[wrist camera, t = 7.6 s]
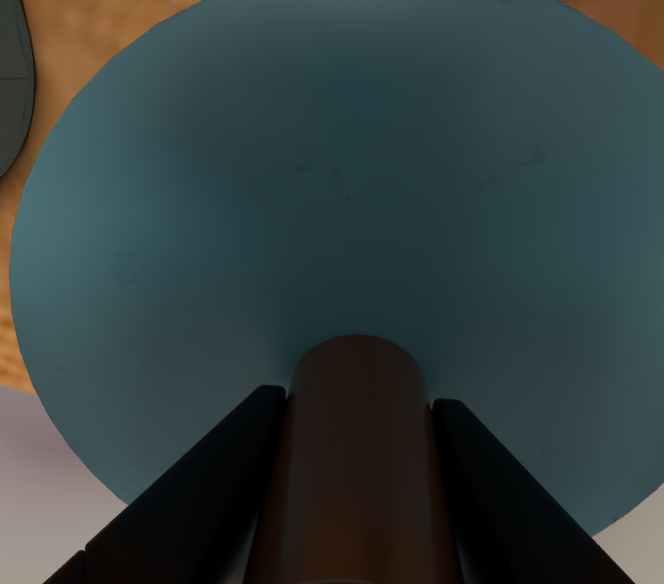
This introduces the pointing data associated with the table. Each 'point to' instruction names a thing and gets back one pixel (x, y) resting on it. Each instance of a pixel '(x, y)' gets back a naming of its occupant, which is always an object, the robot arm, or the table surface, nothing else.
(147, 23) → the table surface
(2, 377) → the table surface
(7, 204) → the table surface
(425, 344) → the tin lid
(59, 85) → the table surface
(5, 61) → the tin
